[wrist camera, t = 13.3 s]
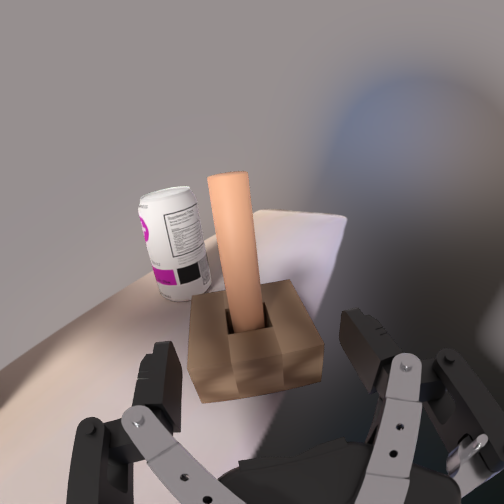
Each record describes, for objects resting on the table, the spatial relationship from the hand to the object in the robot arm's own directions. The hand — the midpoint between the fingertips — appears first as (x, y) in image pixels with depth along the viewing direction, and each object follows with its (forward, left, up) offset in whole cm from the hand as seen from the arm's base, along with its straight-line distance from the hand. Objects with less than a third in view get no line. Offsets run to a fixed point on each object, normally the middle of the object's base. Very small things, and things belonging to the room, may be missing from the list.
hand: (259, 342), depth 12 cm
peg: (0, +11, -12) cm, 16 cm away
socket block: (0, +11, -12) cm, 16 cm away
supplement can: (-8, +27, -12) cm, 31 cm away
